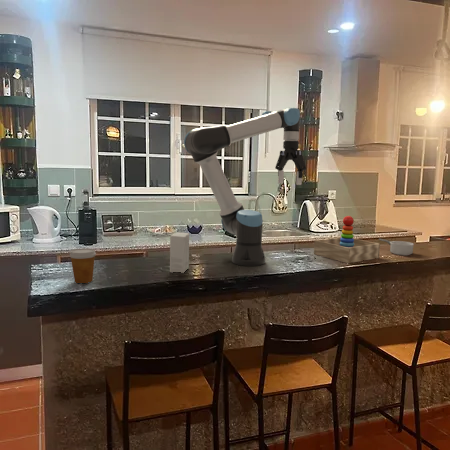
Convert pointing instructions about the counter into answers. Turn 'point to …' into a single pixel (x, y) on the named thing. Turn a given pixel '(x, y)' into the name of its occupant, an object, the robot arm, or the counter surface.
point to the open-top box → (346, 250)
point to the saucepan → (400, 247)
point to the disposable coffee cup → (83, 264)
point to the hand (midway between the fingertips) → (289, 184)
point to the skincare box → (179, 252)
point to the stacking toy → (347, 233)
